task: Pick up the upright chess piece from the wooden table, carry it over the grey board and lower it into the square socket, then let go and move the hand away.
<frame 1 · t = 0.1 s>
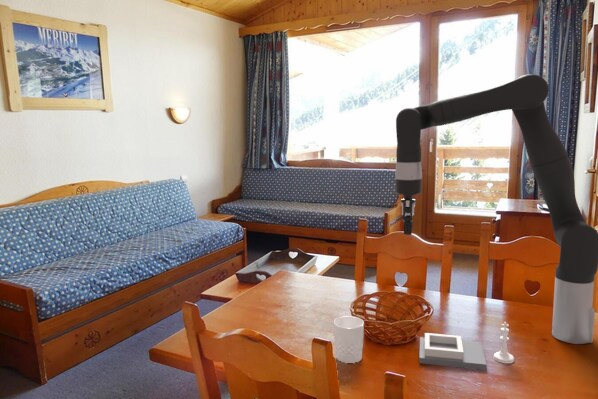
hand: (408, 231, 136), 29 cm above the table, tool pointing down, fingers open, 8 cm apart
white cup: (349, 358, 120), on the table
chess piece: (503, 359, 118), on the table
socket board: (450, 355, 120), on the table
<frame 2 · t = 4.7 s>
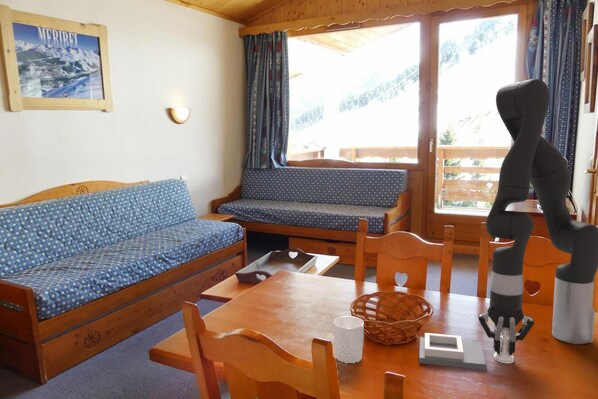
hand: (503, 352, 117), 2 cm above the table, tool pointing down, fingers closed on chess piece
chess piece: (503, 359, 118), on the table, touching gripper
everything else where it was.
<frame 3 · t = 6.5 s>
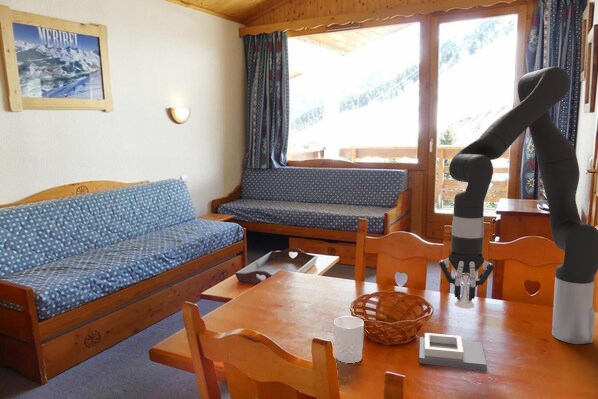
hand: (464, 298, 117), 16 cm above the table, tool pointing down, fingers closed on chess piece
chess piece: (464, 305, 117), point 14 cm above the table, touching gripper
everything else where it was.
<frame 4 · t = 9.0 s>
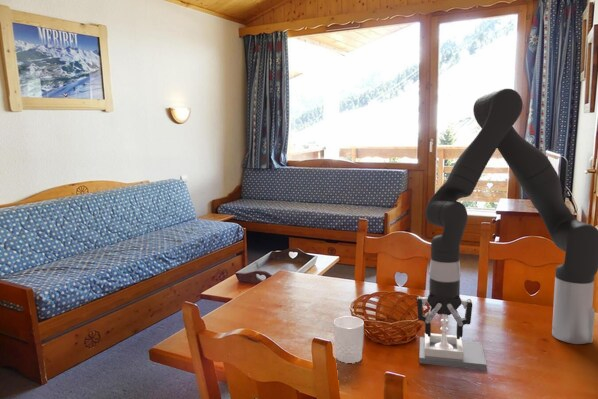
hand: (443, 336, 120), 5 cm above the table, tool pointing down, fingers open, 6 cm apart
chess piece: (443, 349, 120), point 1 cm above the table, touching socket board
everything else where it was.
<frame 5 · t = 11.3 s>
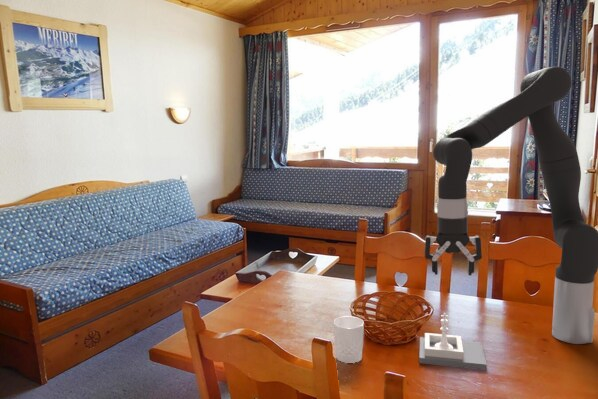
hand: (452, 274, 122), 21 cm above the table, tool pointing down, fingers open, 8 cm apart
nothing on the table moved.
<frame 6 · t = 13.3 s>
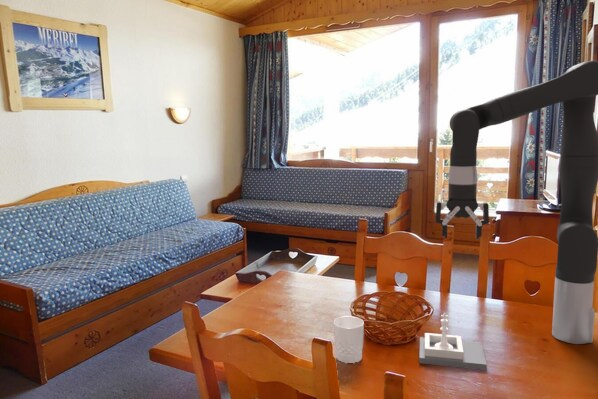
hand: (461, 238, 130), 28 cm above the table, tool pointing down, fingers open, 8 cm apart
nothing on the table moved.
at the end: chess piece 0.2 cm from the target spot on the socket board, point 1.3 cm above the socket board's base; chess piece tilted 0°; the gripper is holding nothing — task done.
